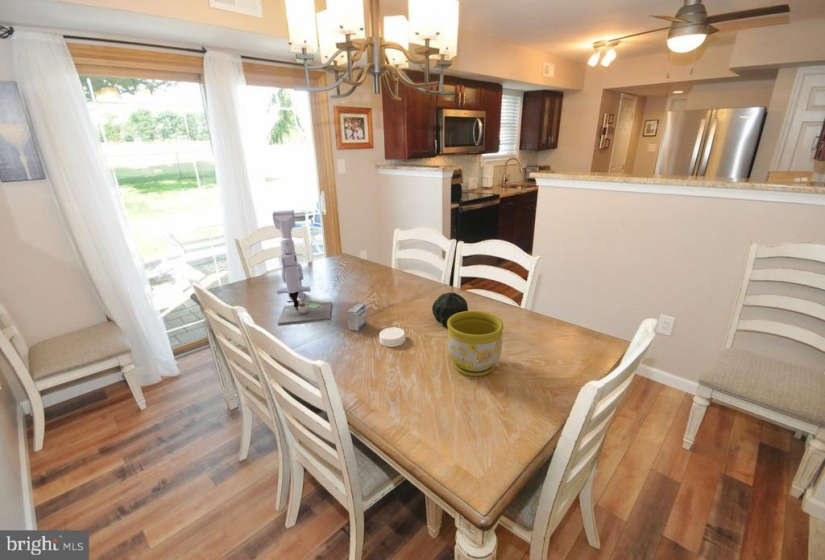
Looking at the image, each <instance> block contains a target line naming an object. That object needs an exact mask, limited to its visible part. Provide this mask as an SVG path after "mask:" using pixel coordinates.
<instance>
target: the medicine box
mask: <svg viewBox="0 0 825 560" xmlns="http://www.w3.org/2000/svg"><path fill="white" fill-rule="evenodd" d="M346 314H347V322H348V325H347V326H348V330H349V331H354V332H355V331H356V332H358V331H360V330H361V328H362V327H364V326H365V325H366V324H367V313H366V305H365V304H362V303H361V304H360V303H356V304H354V305H353V306H352V307H350V308H349V309H348V310H347V311H346Z"/></svg>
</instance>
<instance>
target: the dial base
mask: <svg viewBox="0 0 825 560" xmlns="http://www.w3.org/2000/svg"><path fill="white" fill-rule="evenodd" d="M306 304H307V308H308V312H307V313H306V314H299V311H298V307H296V308H294V304H293V305H284V306H283V309H282V310H281V313H280V315H279V319H278V321H277V325H278V324H283V325H290V324H289V323H293V324H302V323H301V322H303V323H310V322H312V321H313V322H321V321H322V322H323V321H330V320H331V314H332V301H325V302H313V303H306ZM313 322H312V323H313Z"/></svg>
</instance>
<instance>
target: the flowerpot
mask: <svg viewBox="0 0 825 560" xmlns="http://www.w3.org/2000/svg"><path fill="white" fill-rule="evenodd" d="M446 326H447V332H448V335H447V351H448V353H449V357H450V358H451V360H452V365H453V367H455V369H456V370H457V371H458V372H460V373H461V374H463V375H466V376H469V377H481V376H486V375H488V374H489V373H491V372H492V371H493V370H494V369H495V367H496V363H497V362H498V360H499V359H500V356H501V354H502V350H503V339H502V338H503V337H502V335H503V330H504V328H505V327H504V322H503V321H502V319H501V318H500V317H499V316H496V315H494V314H493V313H490V312H486V311H480V310H479V311H478V310H468V311H464V312H459V313H456V314H454V315H452V316H451V317H450V318H449V319H448V321H447V324H446Z"/></svg>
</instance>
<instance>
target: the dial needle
mask: <svg viewBox="0 0 825 560" xmlns="http://www.w3.org/2000/svg"><path fill="white" fill-rule="evenodd" d="M297 301H298V311H299V314H306V313H307V312H308V308H307V304H308V303H303V302H302V300H300V299H299V297H298V298H297Z"/></svg>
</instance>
